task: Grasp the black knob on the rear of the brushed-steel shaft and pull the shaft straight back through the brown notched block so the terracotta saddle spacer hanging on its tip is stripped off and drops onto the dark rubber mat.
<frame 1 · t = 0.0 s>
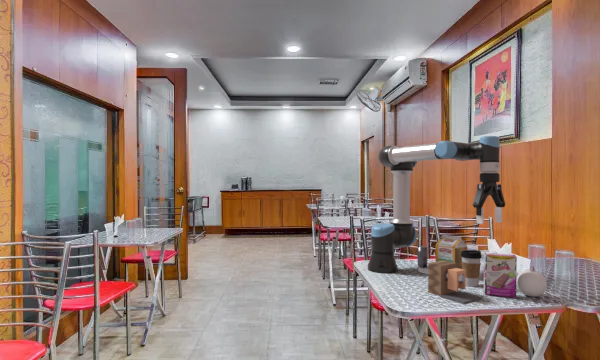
hand: (489, 223, 154), 28 cm above the table, fingers open, 13 cm apart
spacer: (456, 279, 143), point 7 cm above the table, touching shaft
milk carton: (451, 274, 180), on the table
shaft: (439, 263, 150), point 12 cm above the table, slide at 0.0 cm, touching spacer
coffee cup: (470, 285, 161), on the table
mat: (461, 297, 142), on the table
candy bar box: (499, 295, 146), on the table
ornament: (531, 296, 145), on the table
brown notched block: (442, 292, 149), on the table
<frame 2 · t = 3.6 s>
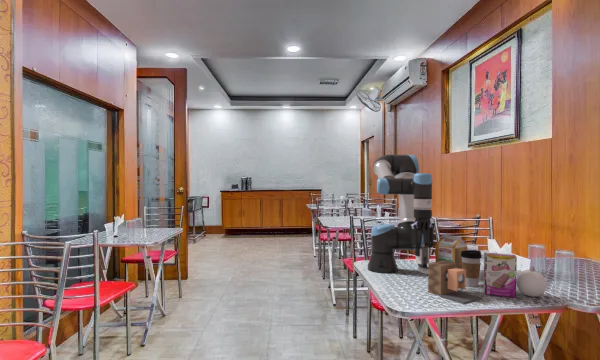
hand: (422, 262, 157), 10 cm above the table, fingers closed on shaft, 4 cm apart
shaft: (439, 263, 150), point 12 cm above the table, slide at 0.0 cm, touching gripper, spacer
everything else where it was.
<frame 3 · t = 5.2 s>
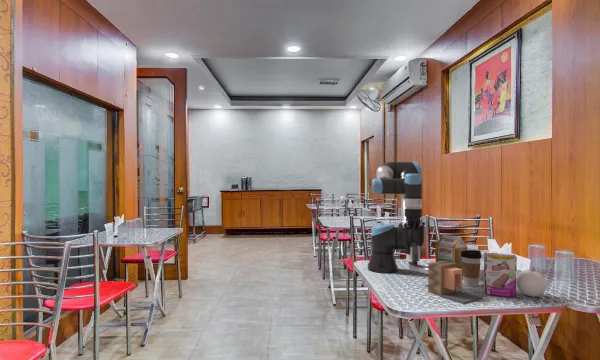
hand: (412, 260, 162), 10 cm above the table, fingers closed on shaft, 4 cm apart
spacer: (453, 278, 145), point 7 cm above the table
shaft: (428, 261, 155), point 12 cm above the table, slide at 5.2 cm, touching gripper
everything else where it was.
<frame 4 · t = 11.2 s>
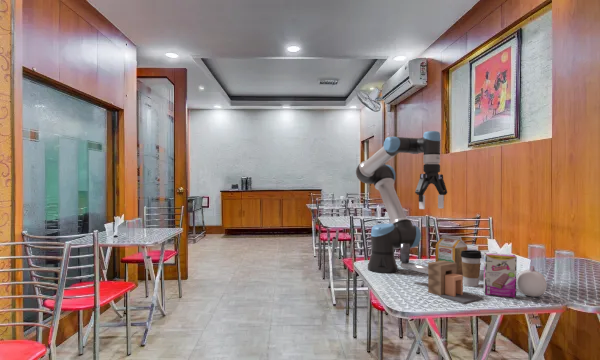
hand: (431, 208, 173), 33 cm above the table, fingers open, 13 cm apart
spacer: (453, 284, 144), point 4 cm above the table, touching mat
shaft: (419, 259, 159), point 12 cm above the table, slide at 10.0 cm
everything else where it was.
at the end: shaft slide at 10.0 cm; spacer touching mat; spacer inside the target area (2.7 cm from its centre), point 4.3 cm above the table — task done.
